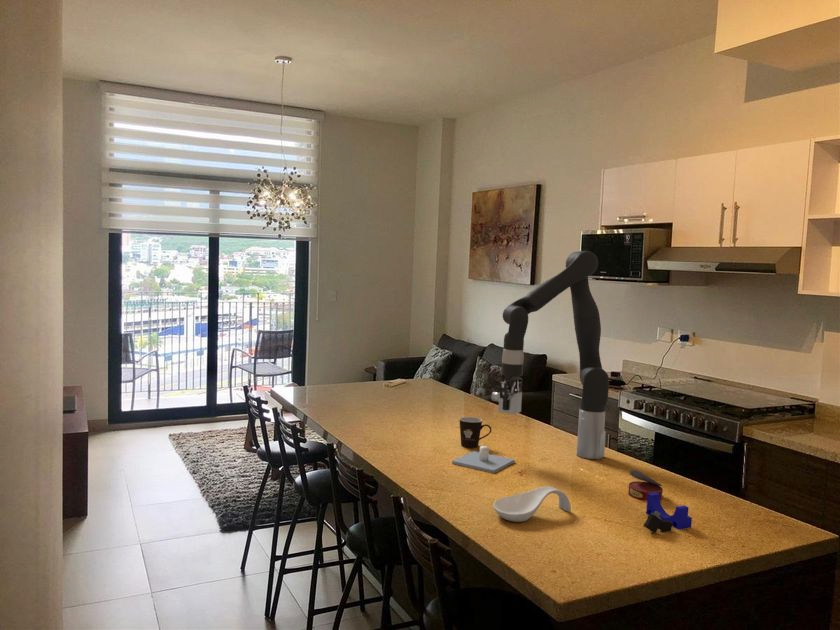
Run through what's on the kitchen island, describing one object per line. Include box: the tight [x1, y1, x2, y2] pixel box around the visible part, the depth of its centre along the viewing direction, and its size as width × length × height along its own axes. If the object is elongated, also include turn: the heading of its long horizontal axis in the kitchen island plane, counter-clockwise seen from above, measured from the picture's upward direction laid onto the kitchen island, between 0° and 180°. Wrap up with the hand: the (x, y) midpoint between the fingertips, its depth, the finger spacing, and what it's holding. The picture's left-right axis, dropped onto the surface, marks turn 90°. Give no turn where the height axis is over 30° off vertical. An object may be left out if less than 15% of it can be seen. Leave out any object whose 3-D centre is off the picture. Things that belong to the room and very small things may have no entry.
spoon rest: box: [492, 485, 572, 523], centre depth 184 cm, size 24×12×7 cm, turn 118°
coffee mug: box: [458, 416, 492, 449], centre depth 251 cm, size 12×9×10 cm
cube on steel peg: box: [490, 391, 523, 415], centre depth 239 cm, size 10×6×7 cm, turn 57°
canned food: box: [627, 469, 664, 502], centre depth 204 cm, size 11×10×10 cm
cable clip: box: [645, 493, 693, 531], centre depth 185 cm, size 12×4×6 cm, turn 25°
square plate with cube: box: [451, 445, 516, 474], centre depth 231 cm, size 16×16×6 cm
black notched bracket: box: [642, 511, 673, 534], centre depth 176 cm, size 8×2×5 cm
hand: (509, 408), depth 238 cm, fingers closed on cube on steel peg, 6 cm apart
